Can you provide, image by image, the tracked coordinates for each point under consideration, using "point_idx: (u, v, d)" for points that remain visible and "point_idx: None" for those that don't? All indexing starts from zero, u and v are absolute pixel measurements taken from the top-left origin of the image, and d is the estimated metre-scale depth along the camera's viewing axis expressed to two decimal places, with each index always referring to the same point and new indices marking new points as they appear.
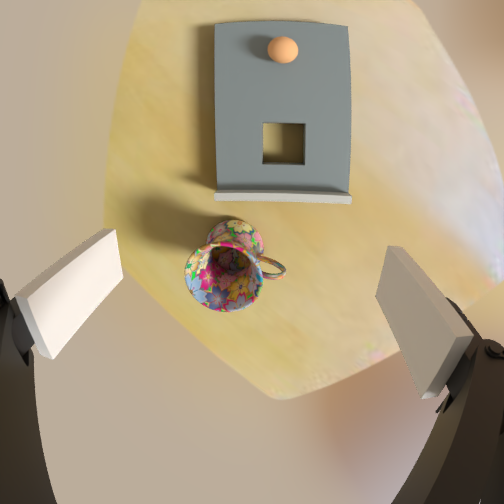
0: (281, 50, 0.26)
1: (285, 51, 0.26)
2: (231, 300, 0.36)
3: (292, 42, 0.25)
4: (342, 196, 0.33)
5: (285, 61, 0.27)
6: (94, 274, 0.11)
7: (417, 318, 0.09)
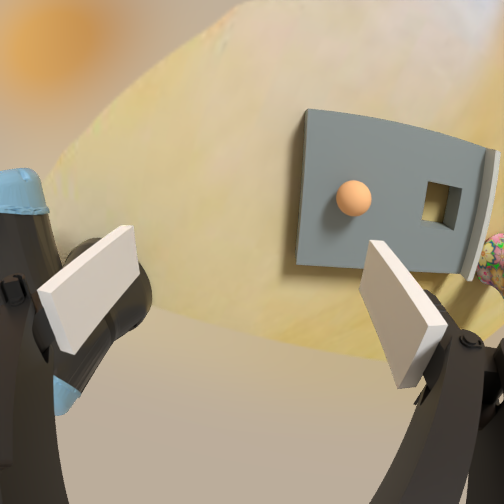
0: (363, 205, 0.25)
1: (365, 200, 0.25)
2: None
3: (351, 189, 0.25)
4: (495, 160, 0.22)
5: None
6: (114, 270, 0.12)
7: (394, 309, 0.09)
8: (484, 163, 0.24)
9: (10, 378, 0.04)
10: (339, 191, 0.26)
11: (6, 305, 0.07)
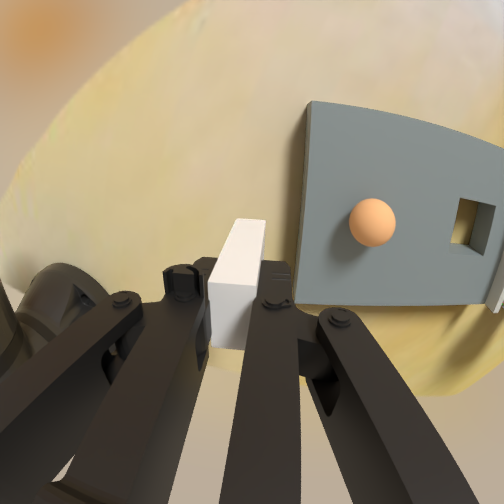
0: (386, 233, 0.18)
1: (388, 227, 0.18)
2: None
3: (371, 212, 0.18)
4: None
5: (395, 223, 0.19)
6: None
7: None
8: None
9: (155, 397, 0.05)
10: (354, 214, 0.19)
11: (168, 296, 0.08)
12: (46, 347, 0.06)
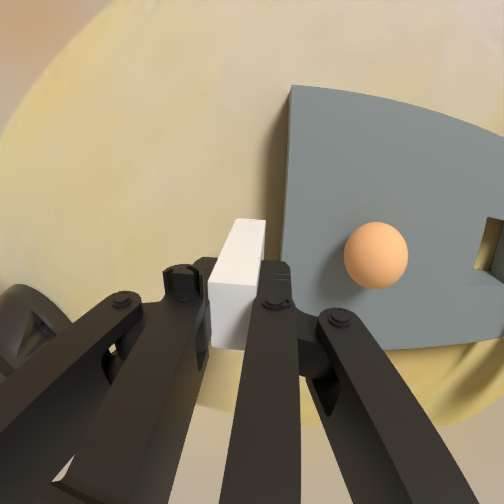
0: (395, 273, 0.13)
1: (398, 265, 0.13)
2: None
3: (376, 244, 0.13)
4: None
5: None
6: None
7: None
8: None
9: (154, 397, 0.05)
10: (351, 245, 0.14)
11: (168, 296, 0.08)
12: (46, 347, 0.06)
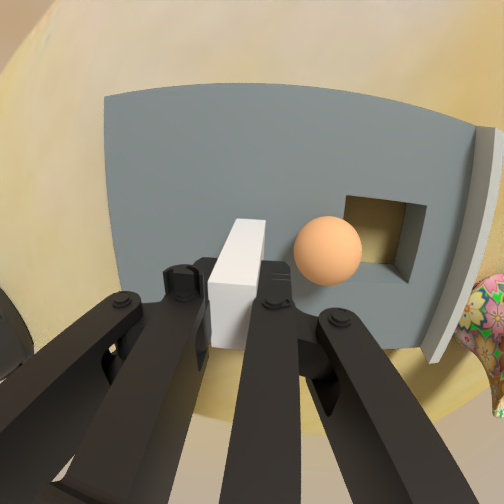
0: (294, 254, 0.14)
1: (297, 247, 0.14)
2: None
3: None
4: (495, 149, 0.11)
5: (318, 259, 0.13)
6: None
7: None
8: (473, 155, 0.13)
9: (154, 397, 0.05)
10: None
11: (168, 297, 0.08)
12: (46, 346, 0.06)
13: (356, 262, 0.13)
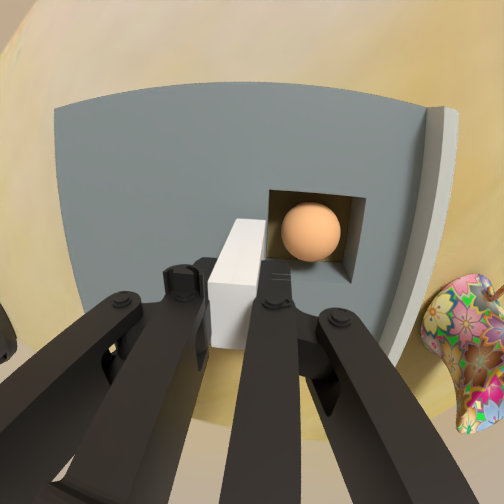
0: None
1: None
2: None
3: (325, 221, 0.15)
4: (445, 130, 0.11)
5: None
6: None
7: None
8: (424, 140, 0.13)
9: (154, 397, 0.05)
10: (301, 229, 0.15)
11: (168, 296, 0.08)
12: (46, 347, 0.06)
13: None
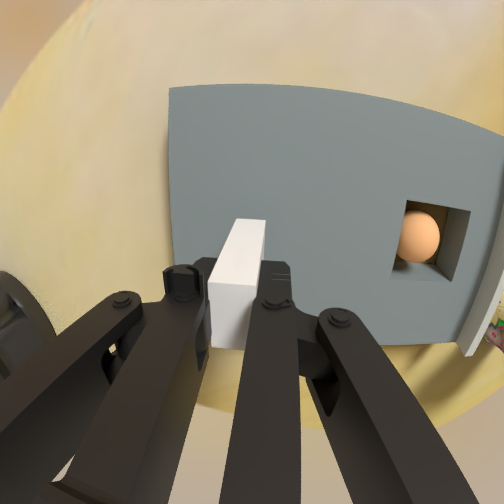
0: None
1: None
2: None
3: (426, 228, 0.15)
4: None
5: None
6: None
7: None
8: None
9: (154, 397, 0.05)
10: (406, 231, 0.16)
11: (168, 296, 0.08)
12: (46, 347, 0.06)
13: None
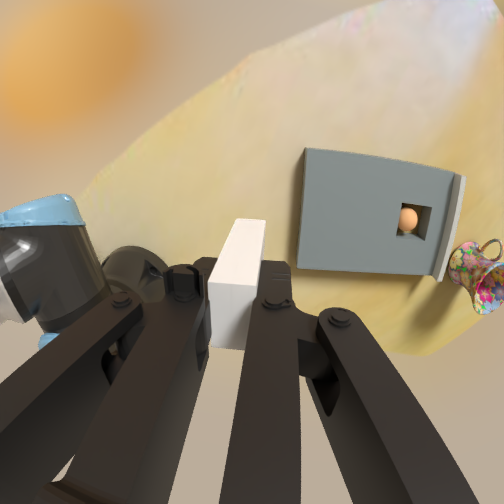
0: (416, 223, 0.37)
1: (416, 220, 0.37)
2: None
3: (411, 214, 0.36)
4: (461, 184, 0.32)
5: None
6: None
7: None
8: (452, 185, 0.34)
9: (154, 397, 0.05)
10: (402, 216, 0.37)
11: (168, 296, 0.08)
12: (46, 347, 0.06)
13: None
